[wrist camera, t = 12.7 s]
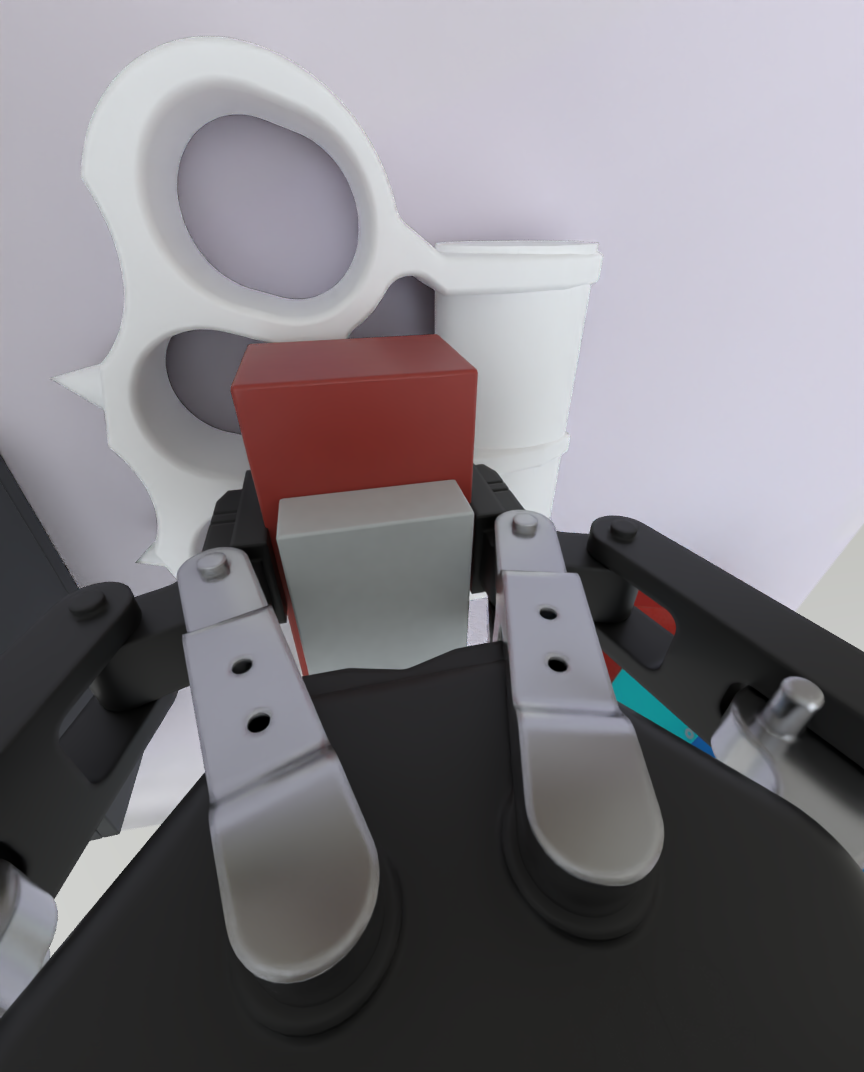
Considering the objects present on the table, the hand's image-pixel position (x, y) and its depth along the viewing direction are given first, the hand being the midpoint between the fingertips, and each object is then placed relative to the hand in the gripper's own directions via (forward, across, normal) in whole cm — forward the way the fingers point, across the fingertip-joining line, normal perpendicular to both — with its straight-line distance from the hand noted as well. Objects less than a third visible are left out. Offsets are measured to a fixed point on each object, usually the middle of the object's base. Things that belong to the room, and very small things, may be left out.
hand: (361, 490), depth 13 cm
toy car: (+1, 0, 0) cm, 1 cm away
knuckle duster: (+4, 0, 0) cm, 4 cm away
